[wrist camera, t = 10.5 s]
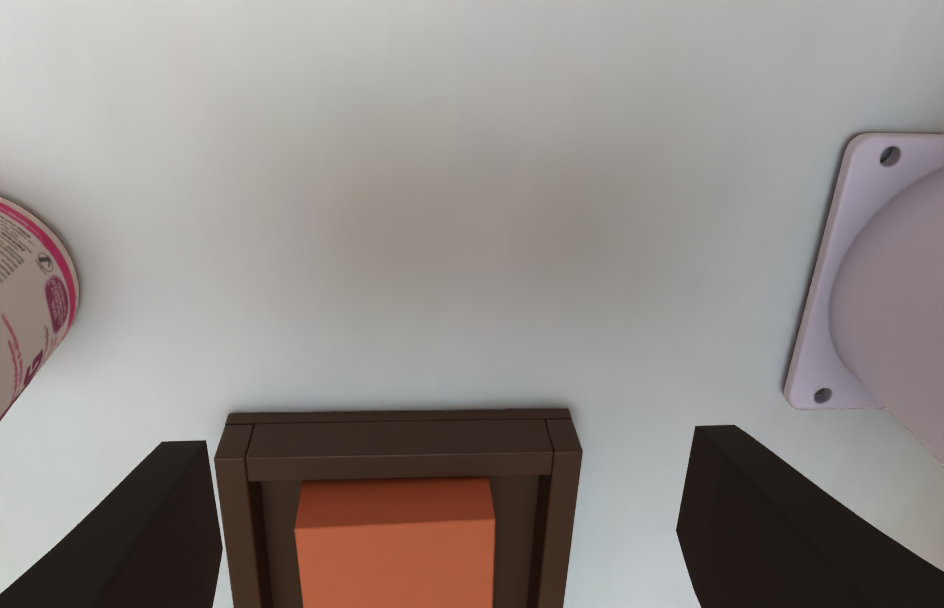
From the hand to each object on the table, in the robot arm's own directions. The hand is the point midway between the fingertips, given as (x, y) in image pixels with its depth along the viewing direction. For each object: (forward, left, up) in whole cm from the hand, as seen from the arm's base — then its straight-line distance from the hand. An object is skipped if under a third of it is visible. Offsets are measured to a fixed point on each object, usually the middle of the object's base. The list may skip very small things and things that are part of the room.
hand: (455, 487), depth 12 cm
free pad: (+1, +10, -9) cm, 13 cm away
